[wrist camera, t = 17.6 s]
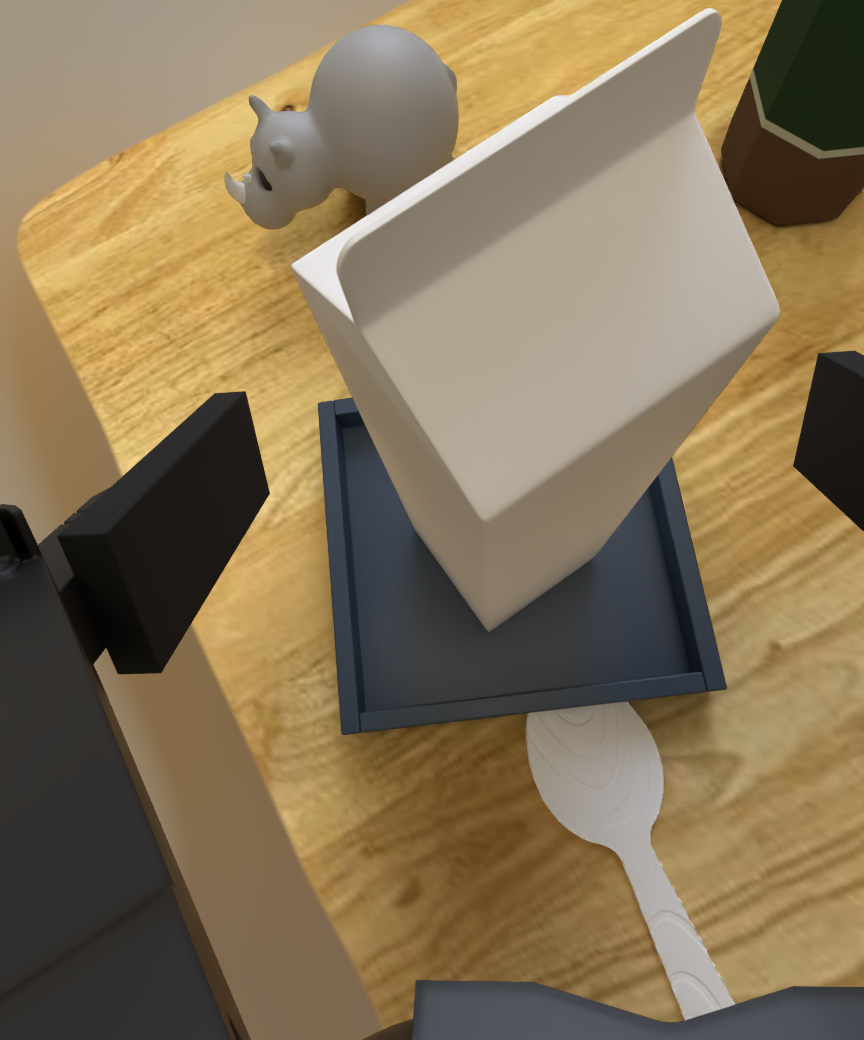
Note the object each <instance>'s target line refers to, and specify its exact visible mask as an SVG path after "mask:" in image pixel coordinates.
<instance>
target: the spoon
mask: <svg viewBox="0 0 864 1040" xmlns="http://www.w3.org/2000/svg"><path fill="white" fill-rule="evenodd" d="M526 717H527V718H526V727H525V728H526V729H525V733H526V739H525V740H526V747H527V748H526V749H527V754H528V758H529V759H528V761H529V766H530V768H531V775H532V777H533V780H534V782H535V784H536V787H537V789H538V791H539V794H540V796H541V798H542V801H543V802H544V803H545V805H547V807H548V810H549V811H550V812H552V814H553V815H554V816H555V819H557V820H558V821H559V823H560V824H562V825H563V826H564V827H566V828H567V829H568V830H570V831H571V832H572V833H574V834H575V835H577V836H578V837H579V838H582V839H584V840H587V841H589V842H591V843H595V844H599V845H603V846H605V847H608V848H610V849H611V850H612V851H614V852H615V853H616V854H617V855H618V857H619V859H621V861H622V863H623V868H624V870H625V872H626V875H627V877H628V879H629V881H630V883H631V886H632V888H633V890H634V891H633V893H634V895H635V897H636V899H637V901H638V906H639V908H640V910H641V913H642V915H643V917H644V919H645V921H646V924H647V926H648V928H649V933H650V935H651V937H652V939H653V942H654V947H655V949H656V951H657V953H658V955H659V957H660V960H661V962H662V964H663V966H664V968H665V973H666V976H667V978H668V980H669V982H670V984H671V985H670V987H671V989H672V991H673V994H674V996H675V998H676V1000H677V1002H678V1005H679V1007H680V1012H681V1014H682V1016H683V1018H684V1020H688V1019H691V1018H694V1017H697V1016H701V1015H704V1014H707V1013H710V1012H713V1011H717V1010H720V1009H723V1008H726V1007H729V1006H732V1005H736V1004H735V1002H734V1000H732V998H731V996H730V994H729V992H728V990H727V988H726V986H725V983H724V981H723V979H722V977H721V975H719V973H718V971H717V969H716V966H715V965H714V963H712V961H711V959H710V957H709V955H708V953H707V951H706V949H705V946H704V944H703V941H702V939H701V938H700V937H699V936H698V934H697V931H696V929H695V927H694V925H693V923H691V921H690V919H689V917H688V915H687V913H686V910H685V908H684V906H683V903H682V901H681V900H680V899H679V898H678V896H677V893H676V891H675V889H674V887H672V885H671V883H670V881H669V879H668V877H667V875H666V872H665V870H664V868H663V866H662V864H661V863H660V862H659V860H658V858H657V855H656V853H655V851H654V849H653V847H652V845H651V844H652V842H651V836H650V834H651V831H652V825H653V824H654V821H656V818H658V817H657V815H658V814H659V810H660V806H661V804H662V801H663V799H664V798H663V795H664V794H663V792H664V790H663V789H664V783H665V782H664V774H663V765H662V764H661V762H662V761H661V757H660V755H659V753H658V752H659V750H658V749H657V747H656V746H657V744H656V742H655V740H654V738H653V736H652V734H651V732H650V730H649V729H647V726H646V724H645V723H644V722H643V721H642V718H641V717H640V716H639V715H637V712H636V711H635V710H634V708H633V707H632V706H631V705H629V702H627V701H626V702H617V703H609V704H601V705H592V706H584V707H575V708H567V709H558V710H550V711H541V712H533V713H527V716H526Z"/></svg>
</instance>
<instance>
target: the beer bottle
mask: <svg viewBox="0 0 864 1040" xmlns="http://www.w3.org/2000/svg"><path fill="white" fill-rule="evenodd" d="M721 153H722V159H723V163H724V168H725V173H726V178H727V183H728V187H729V192H730V194H731V196H732V198H733V200H734V201H736V202H738V203H739V204H741V205H743V206H744V207H746V208H748V209H749V210H751V211H753V212H754V213H756V214H758V215H759V216H761V217H763V218H764V219H766V220H768V221H769V222H771V223H773V224H774V225H786V224H797V223H807V222H817V221H827V220H833V219H835V218H837V217H838V216H839V215H840V214H841V213H842V212H843V211H844V210H845V209H846V207H847V206H848V205H849V204H850V203H851V202H852V201H853V199H854V198H855V197H856V196H857V195H858V194H859V193H860V192H861V190H862V189H863V188H864V0H782V2H781V4H780V7H779V9H778V11H777V14H776V16H775V18H774V21H773V23H772V26H771V28H770V30H769V33H768V35H767V37H766V40H765V42H764V44H763V47H762V49H761V51H760V54H759V56H758V59H757V61H756V63H755V66H754V68H753V70H752V73H751V75H750V77H749V80H748V82H747V85H746V87H745V89H744V92H743V94H742V96H741V99H740V101H739V103H738V106H737V108H736V111H735V113H734V115H733V118H732V120H731V123H730V126H729V129H728V131H727V134H726V137H725V140H724V143H723V146H722V148H721Z"/></svg>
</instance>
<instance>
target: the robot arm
mask: <svg viewBox="0 0 864 1040" xmlns="http://www.w3.org/2000/svg"><path fill="white" fill-rule="evenodd" d="M793 466H794V467H795V468H796V469H797V470H798V471H799V472H800V473H801V474H802V475H803V476H804V477H805V478H807V479H808V480H809V481H810V482H811V483H812V484H813V485H814V486H815V487H816V488H817V489H818V490H819V491H821V492H822V493H823V494H824V495H825V496H826V497H827V498H828V499H829V500H830V501H831V502H832V503H833V504H835V505H836V506H837V507H838V508H839V509H840V510H841V511H842V512H843V513H844V514H845V515H846V516H847V517H849V518H850V519H851V520H852V521H853V522H854V523H855V524H856V525H857V526H858V527H859V528H860V529H861V530H863V531H864V355H862V354H860V353H858V352H856V351H845V352H830V353H818V357H817V362H816V366H815V371H814V375H813V380H812V384H811V389H810V393H809V397H808V402H807V406H806V411H805V415H804V420H803V424H802V429H801V433H800V438H799V442H798V447H797V451H796V456H795V460H794V465H793ZM269 494H270V492H269V488H268V484H267V480H266V475H265V471H264V467H263V463H262V459H261V454H260V450H259V446H258V442H257V438H256V433H255V429H254V425H253V421H252V417H251V412H250V408H249V404H248V400H247V396H246V391H244V392H229V393H215V394H214V395H212V396H211V397H210V398H209V399H208V400H207V401H206V402H205V403H204V404H202V405H201V406H200V407H199V408H198V409H197V410H196V411H195V412H194V413H192V414H191V415H190V416H189V417H188V418H187V419H186V420H185V421H184V422H183V423H181V424H180V425H179V426H178V427H177V428H176V429H175V430H174V431H173V432H171V433H170V434H169V435H168V436H167V437H166V438H165V439H164V440H163V441H161V442H160V443H159V444H158V445H157V446H156V447H155V448H154V449H153V450H151V451H150V452H149V453H148V454H147V455H146V456H145V457H144V458H143V459H141V460H140V461H139V462H138V463H137V464H136V465H135V466H134V467H133V468H132V469H130V470H129V471H128V472H127V473H126V474H125V475H124V476H123V477H122V478H120V479H119V480H118V481H117V482H116V483H115V484H114V485H113V486H112V487H110V488H108V489H106V490H105V491H103V492H101V493H99V494H97V495H95V496H93V497H92V498H91V499H89V500H88V501H87V502H86V503H85V504H84V505H83V506H81V507H80V508H79V509H78V510H77V513H74V514H72V515H71V516H70V517H69V518H68V519H67V520H66V521H65V522H64V525H60V526H59V527H58V528H57V529H55V530H54V531H53V532H52V533H51V534H50V535H49V536H48V537H46V538H45V539H44V540H43V541H42V542H41V543H40V544H38V545H37V543H36V540H35V538H34V536H33V534H32V532H31V530H30V528H29V525H28V523H27V521H26V519H25V517H24V515H23V513H22V510H21V509H19V508H18V507H17V506H14V505H5V504H2V505H0V1040H251V1039H250V1037H249V1034H248V1032H247V1030H246V1027H245V1025H244V1023H243V1020H242V1018H241V1015H240V1013H239V1011H238V1008H237V1006H236V1004H235V1001H234V999H233V996H232V994H231V991H230V989H229V987H228V984H227V982H226V980H225V977H224V975H223V972H222V970H221V968H220V965H219V963H218V960H217V958H216V955H215V953H214V951H213V948H212V946H211V943H210V941H209V939H208V936H207V934H206V932H205V929H204V927H203V924H202V922H201V920H200V917H199V915H198V912H197V910H196V908H195V905H194V903H193V900H192V898H191V896H190V893H189V891H188V888H187V886H186V884H185V881H184V879H183V876H182V874H181V872H180V869H179V867H178V865H177V862H176V860H175V858H174V855H173V853H172V850H171V848H170V845H169V843H168V841H167V838H166V836H165V833H164V831H163V829H162V826H161V824H160V821H159V819H158V817H157V814H156V812H155V810H154V807H153V805H152V802H151V800H150V797H149V795H148V793H147V790H146V788H145V786H144V783H143V781H142V778H141V776H140V774H139V771H138V769H137V766H136V764H135V762H134V759H133V757H132V755H131V752H130V749H129V747H128V745H127V742H126V740H125V737H124V735H123V733H122V730H121V728H120V726H119V723H118V721H117V718H116V716H115V714H114V711H113V709H112V706H111V704H110V702H109V699H108V697H107V694H106V692H105V690H104V687H103V685H102V682H101V680H100V678H99V676H98V674H97V671H96V669H95V667H94V665H93V664H94V662H95V661H96V660H97V659H98V657H99V656H100V655H101V654H102V652H103V651H104V649H105V648H107V650H108V653H109V655H110V657H111V659H112V661H113V664H114V666H115V668H116V671H117V673H118V674H147V673H161V672H162V671H163V669H164V667H165V666H166V664H167V663H168V661H169V659H170V658H171V656H172V654H173V653H174V651H175V649H176V648H177V646H178V644H179V643H180V641H181V639H182V638H183V636H184V634H185V633H186V631H187V629H188V628H189V626H190V625H191V623H192V621H193V620H194V618H195V616H196V615H197V613H198V611H199V610H200V608H201V606H202V605H203V603H204V601H205V600H206V598H207V596H208V595H209V593H210V591H211V590H212V588H213V586H214V585H215V583H216V582H217V580H218V578H219V577H220V575H221V573H222V572H223V570H224V568H225V567H226V565H227V563H228V562H229V560H230V558H231V557H232V555H233V553H234V552H235V550H236V548H237V547H238V545H239V543H240V542H241V540H242V538H243V537H244V535H245V534H246V532H247V530H248V529H249V527H250V525H251V524H252V522H253V520H254V519H255V517H256V515H257V514H258V512H259V510H260V509H261V507H262V505H263V504H264V502H265V500H266V499H267V497H268V495H269ZM363 1040H864V987H802V986H793V987H790V988H786V989H783V990H780V991H777V992H774V993H771V994H767V995H764V996H761V997H758V998H755V999H751V1000H748V1001H745V1002H742V1003H739V1004H736V1005H732V1006H729V1007H726V1008H723V1009H720V1010H717V1011H713V1012H710V1013H707V1014H704V1015H701V1016H697V1017H694V1018H691V1019H688V1020H685V1021H680V1022H671V1023H670V1022H662V1021H658V1020H654V1019H651V1018H647V1017H644V1016H641V1015H638V1014H635V1013H631V1012H628V1011H625V1010H622V1009H619V1008H615V1007H612V1006H609V1005H606V1004H603V1003H599V1002H596V1001H593V1000H590V999H586V998H583V997H580V996H577V995H574V994H570V993H567V992H564V991H561V990H558V989H554V988H551V987H548V986H545V985H542V984H538V983H535V982H493V981H432V980H416V985H415V1001H414V1016H413V1019H411V1020H408V1021H405V1022H401V1023H398V1024H395V1025H392V1026H390V1027H388V1028H386V1029H384V1030H381V1031H379V1032H377V1033H375V1034H373V1035H371V1036H369V1037H367V1038H365V1039H363Z"/></svg>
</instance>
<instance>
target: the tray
mask: <svg viewBox="0 0 864 1040" xmlns="http://www.w3.org/2000/svg"><path fill="white" fill-rule="evenodd" d="M318 414H319V428H320V442H321V456H322V470H323V483H324V497H325V511H326V525H327V539H328V553H329V567H330V581H331V594H332V608H333V622H334V636H335V650H336V664H337V678H338V691H339V705H340V719H341V733H342V735H347V734H356V733H361V732H363V733H364V732H372V731H381V730H389V729H398V728H406V727H415V726H423V725H431V724H440V723H448V722H457V721H465V720H474V719H482V718H491V717H499V716H508V715H516V714H524V713H533V712H541V711H550V710H558V709H567V708H575V707H584V706H592V705H601V704H609V703H617V702H626V701H634V700H643V699H651V698H660V697H668V696H677V695H685V694H694V693H702V692H710V691H719V690H726V689H727V686H726V682H725V678H724V674H723V669H722V665H721V661H720V657H719V653H718V648H717V644H716V640H715V636H714V631H713V627H712V623H711V619H710V615H709V610H708V606H707V602H706V598H705V594H704V589H703V585H702V581H701V577H700V573H699V568H698V564H697V560H696V556H695V552H694V547H693V543H692V539H691V535H690V531H689V526H688V522H687V518H686V514H685V510H684V505H683V501H682V497H681V493H680V489H679V484H678V480H677V476H676V472H675V468H674V463H673V459H672V457H671V459H670V460H669V461H668V462H667V464H666V465H665V466H664V468H663V469H662V470H661V472H660V473H659V474H658V475H657V477H656V478H655V479H654V481H653V482H652V483H651V484H650V486H649V487H648V488H647V490H646V491H645V492H644V494H643V495H642V496H641V497H640V499H639V500H638V501H637V503H636V504H635V505H634V507H633V508H632V509H631V510H630V512H629V513H628V514H627V516H626V517H625V518H624V519H623V521H622V522H621V523H620V525H619V526H618V527H617V529H616V530H615V531H614V532H613V534H612V535H611V536H610V538H609V539H608V540H607V542H606V543H605V544H604V545H603V547H602V548H601V549H600V551H599V552H598V553H597V554H596V556H595V557H594V558H592V559H591V560H590V561H588V562H587V563H586V564H584V565H583V566H581V567H580V568H579V569H577V570H576V571H574V572H573V573H572V574H570V575H569V576H567V577H566V578H565V579H563V580H562V581H560V582H559V583H558V584H556V585H555V586H553V587H552V588H551V589H549V590H548V591H546V592H545V593H544V594H542V595H541V596H539V597H538V598H537V599H535V600H534V601H533V602H531V603H530V604H528V605H527V606H526V607H524V608H523V609H521V610H520V611H519V612H517V613H516V614H514V615H513V616H512V617H510V618H509V619H507V620H506V621H505V622H503V623H502V624H500V625H499V626H498V627H496V628H495V629H493V630H492V631H490V632H488V631H487V630H486V629H485V627H484V626H483V624H482V623H481V622H480V620H479V619H478V617H477V616H476V615H475V613H474V612H473V610H472V609H471V608H470V606H469V605H468V603H467V602H466V601H465V599H464V598H463V596H462V595H461V594H460V592H459V591H458V589H457V588H456V587H455V585H454V584H453V582H452V581H451V580H450V578H449V577H448V575H447V574H446V573H445V571H444V570H443V568H442V567H441V566H440V564H439V563H438V561H437V560H436V559H435V557H434V556H433V554H432V553H431V552H430V550H429V549H428V547H427V546H426V545H425V543H424V542H423V540H422V539H421V538H420V536H419V535H418V533H417V532H416V530H415V529H414V527H413V525H412V523H411V520H410V518H409V516H408V514H407V512H406V510H405V508H404V506H403V504H402V501H401V499H400V497H399V495H398V493H397V491H396V489H395V487H394V485H393V482H392V480H391V478H390V476H389V474H388V472H387V470H386V468H385V466H384V463H383V461H382V459H381V457H380V455H379V453H378V451H377V449H376V447H375V444H374V442H373V440H372V438H371V436H370V434H369V432H368V430H367V428H366V425H365V423H364V421H363V419H362V417H361V415H360V413H359V411H358V409H357V406H356V404H355V402H354V400H353V398H346V399H340V400H334V401H327V402H321V403H318Z"/></svg>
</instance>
